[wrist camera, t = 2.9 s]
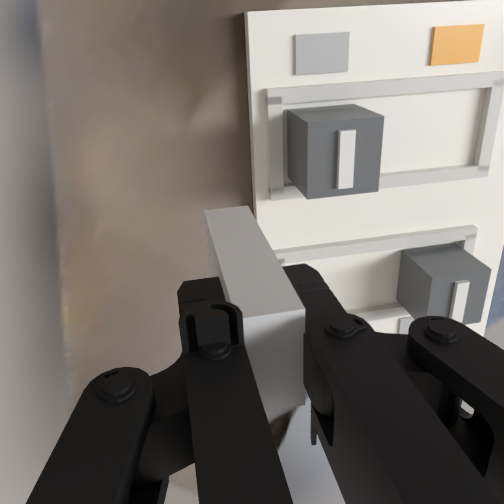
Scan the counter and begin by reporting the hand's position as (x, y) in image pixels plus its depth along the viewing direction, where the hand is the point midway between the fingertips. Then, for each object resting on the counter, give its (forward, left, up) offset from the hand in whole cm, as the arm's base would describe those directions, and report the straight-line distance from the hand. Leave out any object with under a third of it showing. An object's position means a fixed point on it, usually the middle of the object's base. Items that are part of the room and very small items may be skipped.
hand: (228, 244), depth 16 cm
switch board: (+5, +12, -13) cm, 18 cm away
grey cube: (+10, +15, -12) cm, 22 cm away
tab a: (0, +7, -12) cm, 14 cm away
